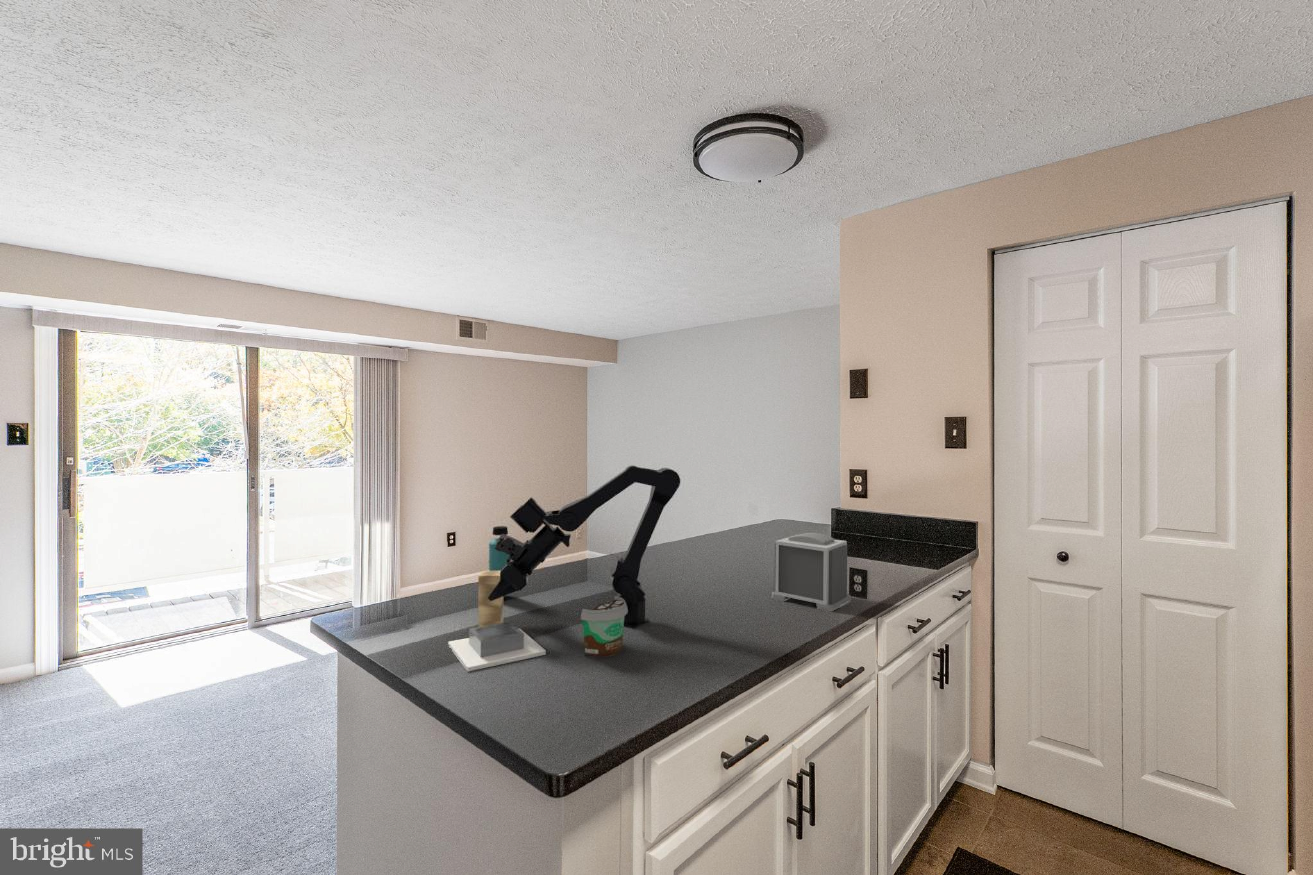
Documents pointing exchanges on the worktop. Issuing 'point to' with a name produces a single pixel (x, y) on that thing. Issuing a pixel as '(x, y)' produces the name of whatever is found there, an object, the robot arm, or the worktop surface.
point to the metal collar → (496, 639)
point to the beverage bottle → (497, 557)
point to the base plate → (475, 662)
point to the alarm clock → (811, 569)
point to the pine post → (488, 609)
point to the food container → (604, 628)
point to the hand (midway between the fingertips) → (492, 593)
